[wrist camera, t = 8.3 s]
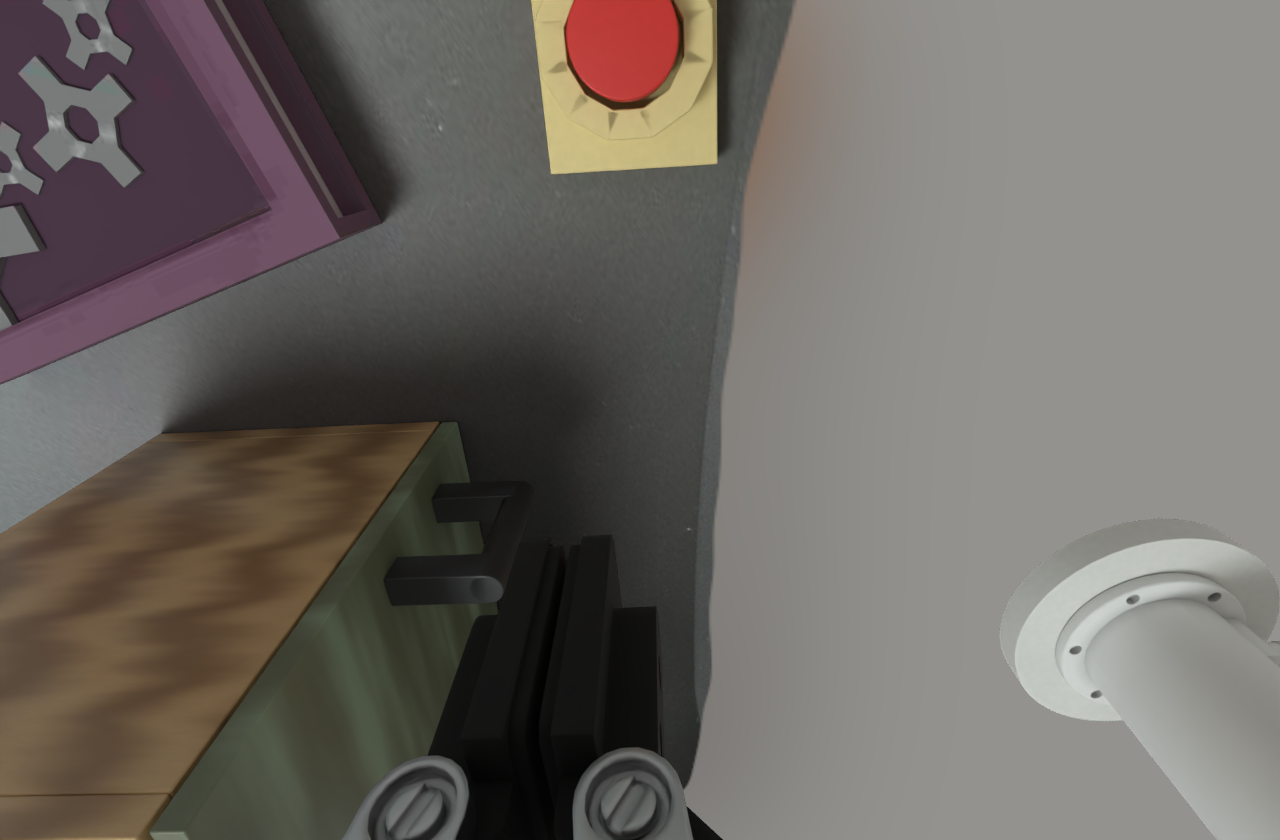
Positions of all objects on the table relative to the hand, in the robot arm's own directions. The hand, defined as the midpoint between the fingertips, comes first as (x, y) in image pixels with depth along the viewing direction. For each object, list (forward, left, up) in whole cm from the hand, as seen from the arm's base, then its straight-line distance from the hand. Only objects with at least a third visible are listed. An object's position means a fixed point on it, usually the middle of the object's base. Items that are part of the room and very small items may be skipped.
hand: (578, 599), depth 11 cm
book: (+27, -8, -25) cm, 38 cm away
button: (-1, -11, -21) cm, 24 cm away
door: (+9, +21, -25) cm, 34 cm away
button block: (-1, -11, -25) cm, 27 cm away
